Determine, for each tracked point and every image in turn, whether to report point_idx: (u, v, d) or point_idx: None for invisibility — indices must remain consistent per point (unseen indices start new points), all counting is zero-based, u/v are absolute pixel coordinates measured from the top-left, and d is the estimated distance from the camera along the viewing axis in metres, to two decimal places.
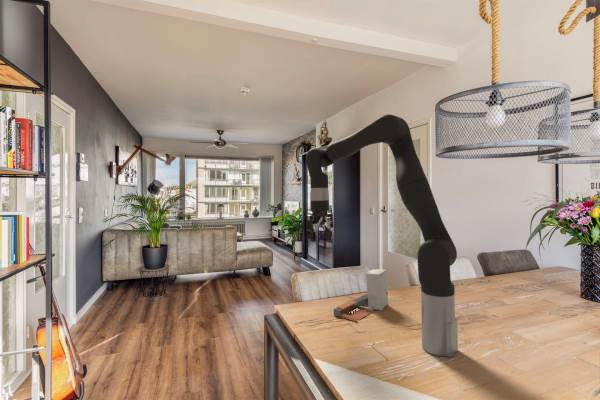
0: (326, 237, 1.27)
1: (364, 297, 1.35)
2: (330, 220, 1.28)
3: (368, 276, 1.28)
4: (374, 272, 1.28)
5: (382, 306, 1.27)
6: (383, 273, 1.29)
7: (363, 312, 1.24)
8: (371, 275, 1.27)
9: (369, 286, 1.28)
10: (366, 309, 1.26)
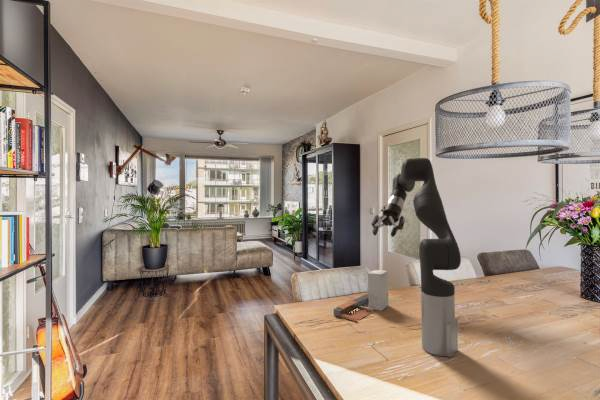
0: None
1: (364, 297, 1.35)
2: None
3: (370, 276, 1.28)
4: (376, 272, 1.29)
5: (382, 306, 1.27)
6: (385, 274, 1.30)
7: (363, 312, 1.24)
8: (373, 274, 1.28)
9: (370, 286, 1.28)
10: (366, 309, 1.26)
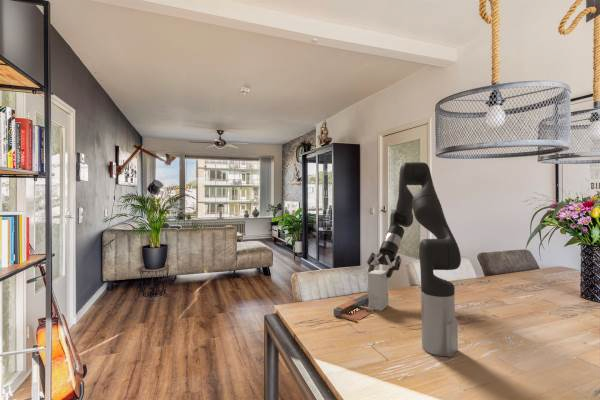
0: None
1: (364, 297, 1.35)
2: None
3: (370, 276, 1.28)
4: (376, 272, 1.29)
5: (382, 306, 1.27)
6: (385, 274, 1.30)
7: (363, 312, 1.24)
8: (373, 274, 1.28)
9: (370, 286, 1.28)
10: (366, 309, 1.26)
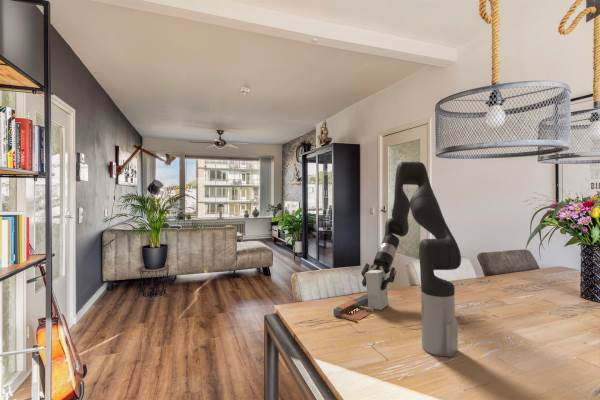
0: None
1: (364, 297, 1.35)
2: None
3: (368, 275, 1.29)
4: (373, 271, 1.30)
5: (382, 305, 1.27)
6: (382, 272, 1.30)
7: (363, 312, 1.24)
8: (371, 274, 1.28)
9: (369, 286, 1.29)
10: (366, 309, 1.26)
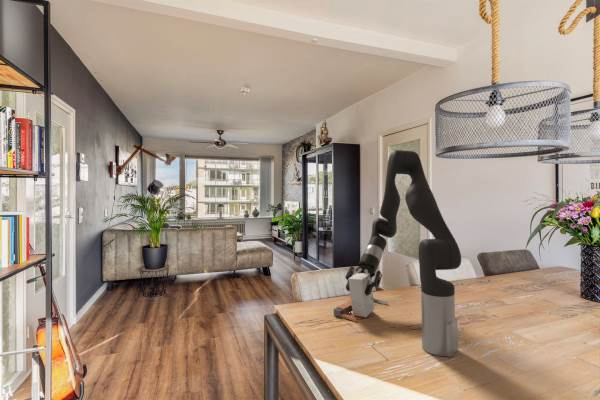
0: None
1: None
2: None
3: (351, 281, 1.20)
4: (357, 277, 1.20)
5: (367, 313, 1.19)
6: (367, 277, 1.21)
7: None
8: (354, 280, 1.19)
9: (352, 292, 1.20)
10: None
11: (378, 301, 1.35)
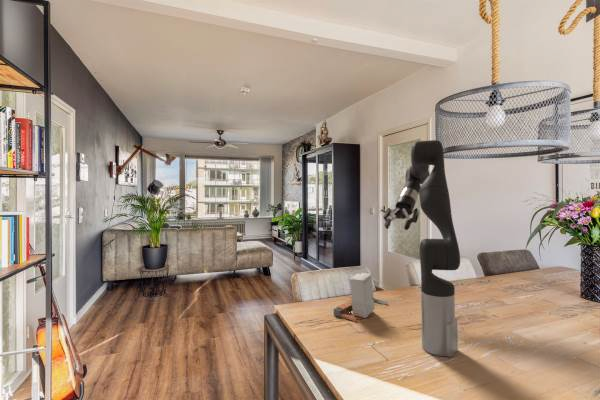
0: None
1: None
2: None
3: (352, 282, 1.19)
4: (358, 277, 1.20)
5: (367, 313, 1.19)
6: (368, 278, 1.21)
7: None
8: (355, 281, 1.19)
9: (353, 292, 1.20)
10: None
11: (378, 301, 1.35)
